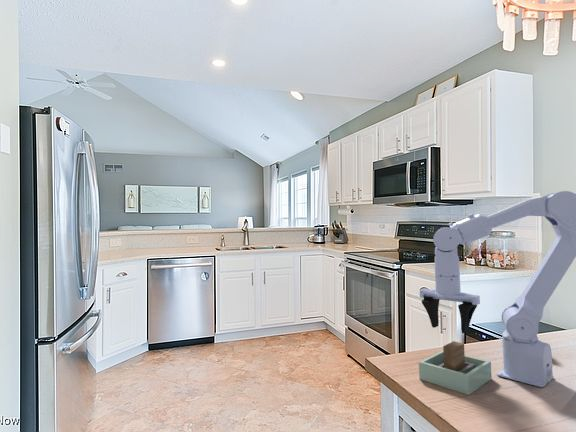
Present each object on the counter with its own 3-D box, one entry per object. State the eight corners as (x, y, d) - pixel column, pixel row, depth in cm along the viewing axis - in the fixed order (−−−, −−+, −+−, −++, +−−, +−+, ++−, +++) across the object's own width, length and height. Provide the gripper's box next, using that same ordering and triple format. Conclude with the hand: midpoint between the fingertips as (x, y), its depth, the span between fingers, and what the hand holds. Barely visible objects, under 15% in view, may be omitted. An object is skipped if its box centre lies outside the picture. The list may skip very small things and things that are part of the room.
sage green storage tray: (491, 378, 89) (490, 361, 89) (468, 394, 81) (468, 376, 81) (443, 365, 98) (443, 349, 98) (419, 379, 90) (418, 362, 90)
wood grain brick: (465, 377, 90) (463, 343, 90) (455, 383, 87) (453, 348, 87) (455, 374, 92) (453, 341, 92) (444, 380, 89) (443, 346, 89)
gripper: (412, 274, 99) (414, 327, 98) (469, 280, 88) (472, 339, 88) (426, 271, 103) (428, 321, 103) (482, 276, 92) (484, 332, 92)
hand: (449, 329), depth 96 cm, fingers open, 7 cm apart
